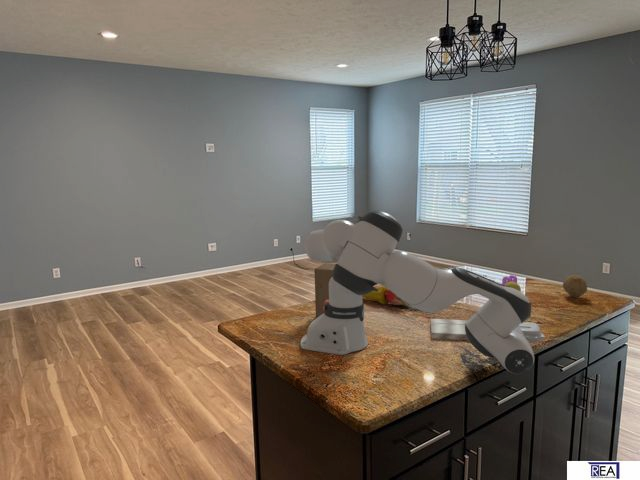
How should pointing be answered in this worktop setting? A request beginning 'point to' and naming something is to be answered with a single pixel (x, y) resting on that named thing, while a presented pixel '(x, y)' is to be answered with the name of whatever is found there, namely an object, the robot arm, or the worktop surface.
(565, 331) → the worktop surface
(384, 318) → the worktop surface
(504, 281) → the bracket
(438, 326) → the birch board
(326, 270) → the wooden block
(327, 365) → the worktop surface
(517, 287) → the light bulb
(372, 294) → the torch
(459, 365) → the worktop surface
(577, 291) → the natural sponge
